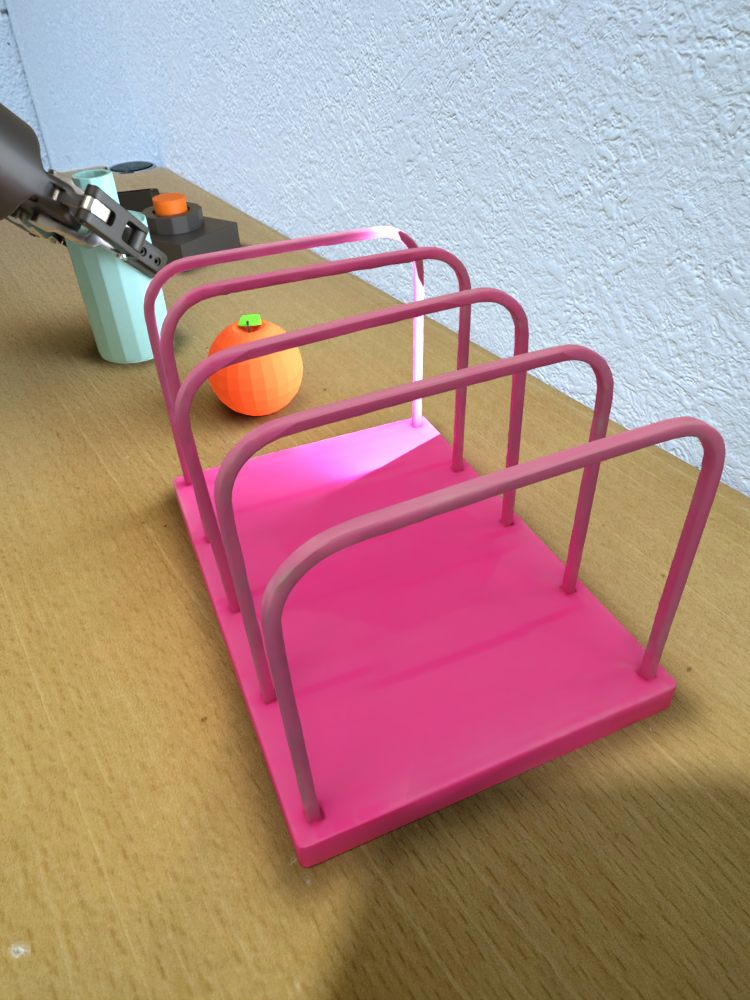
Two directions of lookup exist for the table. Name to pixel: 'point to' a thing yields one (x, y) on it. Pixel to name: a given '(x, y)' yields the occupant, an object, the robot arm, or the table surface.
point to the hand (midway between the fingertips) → (131, 261)
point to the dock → (190, 233)
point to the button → (169, 204)
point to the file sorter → (407, 572)
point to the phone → (137, 199)
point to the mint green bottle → (113, 289)
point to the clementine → (256, 370)
